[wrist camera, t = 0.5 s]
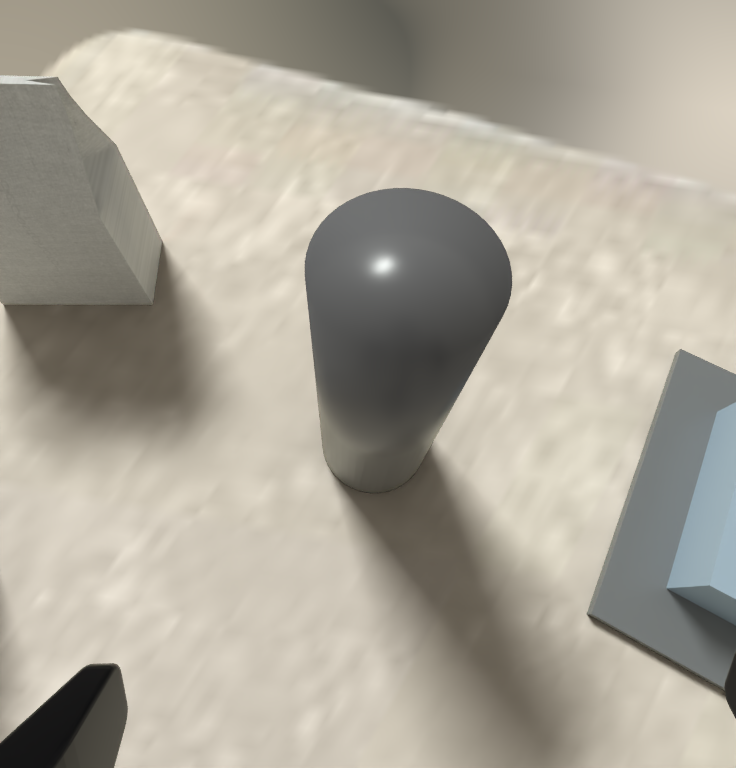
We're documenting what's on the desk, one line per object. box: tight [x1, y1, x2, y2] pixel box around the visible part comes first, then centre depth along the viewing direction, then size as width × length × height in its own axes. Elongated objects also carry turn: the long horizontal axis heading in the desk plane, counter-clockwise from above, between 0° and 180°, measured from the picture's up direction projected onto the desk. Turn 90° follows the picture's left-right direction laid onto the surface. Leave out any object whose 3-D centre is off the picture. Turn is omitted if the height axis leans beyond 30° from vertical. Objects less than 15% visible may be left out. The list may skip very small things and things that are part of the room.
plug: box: [305, 188, 512, 493], centre depth 17 cm, size 4×4×12 cm
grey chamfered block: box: [0, 76, 162, 305], centre depth 21 cm, size 4×7×10 cm, turn 92°
